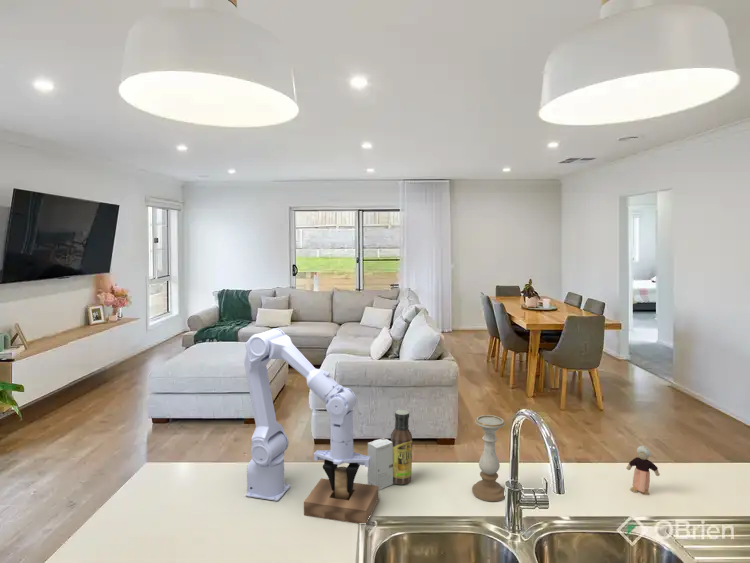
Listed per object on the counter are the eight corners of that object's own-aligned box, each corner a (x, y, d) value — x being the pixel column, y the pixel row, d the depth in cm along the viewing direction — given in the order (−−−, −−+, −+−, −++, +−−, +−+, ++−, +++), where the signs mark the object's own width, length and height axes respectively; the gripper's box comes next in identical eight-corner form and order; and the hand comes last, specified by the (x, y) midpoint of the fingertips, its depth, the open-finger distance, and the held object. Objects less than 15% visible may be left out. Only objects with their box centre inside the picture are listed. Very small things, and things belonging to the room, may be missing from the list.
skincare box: (376, 491, 129) (376, 448, 128) (366, 484, 133) (366, 442, 132) (394, 484, 133) (394, 442, 132) (384, 477, 137) (383, 436, 135)
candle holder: (512, 498, 126) (514, 423, 124) (483, 504, 123) (484, 428, 121) (493, 482, 134) (494, 412, 132) (465, 488, 131) (466, 416, 129)
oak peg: (332, 502, 120) (332, 471, 120) (338, 495, 124) (338, 465, 123) (345, 505, 119) (345, 474, 118) (351, 498, 122) (351, 468, 122)
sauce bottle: (398, 488, 131) (398, 417, 129) (385, 479, 136) (385, 411, 134) (416, 481, 134) (417, 412, 133) (402, 472, 140) (402, 406, 138)
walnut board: (303, 515, 118) (303, 501, 118) (321, 490, 130) (321, 478, 129) (366, 524, 114) (366, 510, 114) (378, 498, 126) (378, 485, 125)
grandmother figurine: (626, 492, 128) (628, 446, 127) (625, 485, 132) (627, 441, 131) (659, 498, 125) (662, 451, 124) (657, 491, 129) (659, 445, 128)
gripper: (308, 441, 118) (309, 493, 119) (365, 447, 115) (365, 501, 116) (319, 430, 125) (319, 480, 126) (372, 436, 121) (372, 487, 123)
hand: (342, 489), depth 121 cm, fingers closed on oak peg, 4 cm apart
